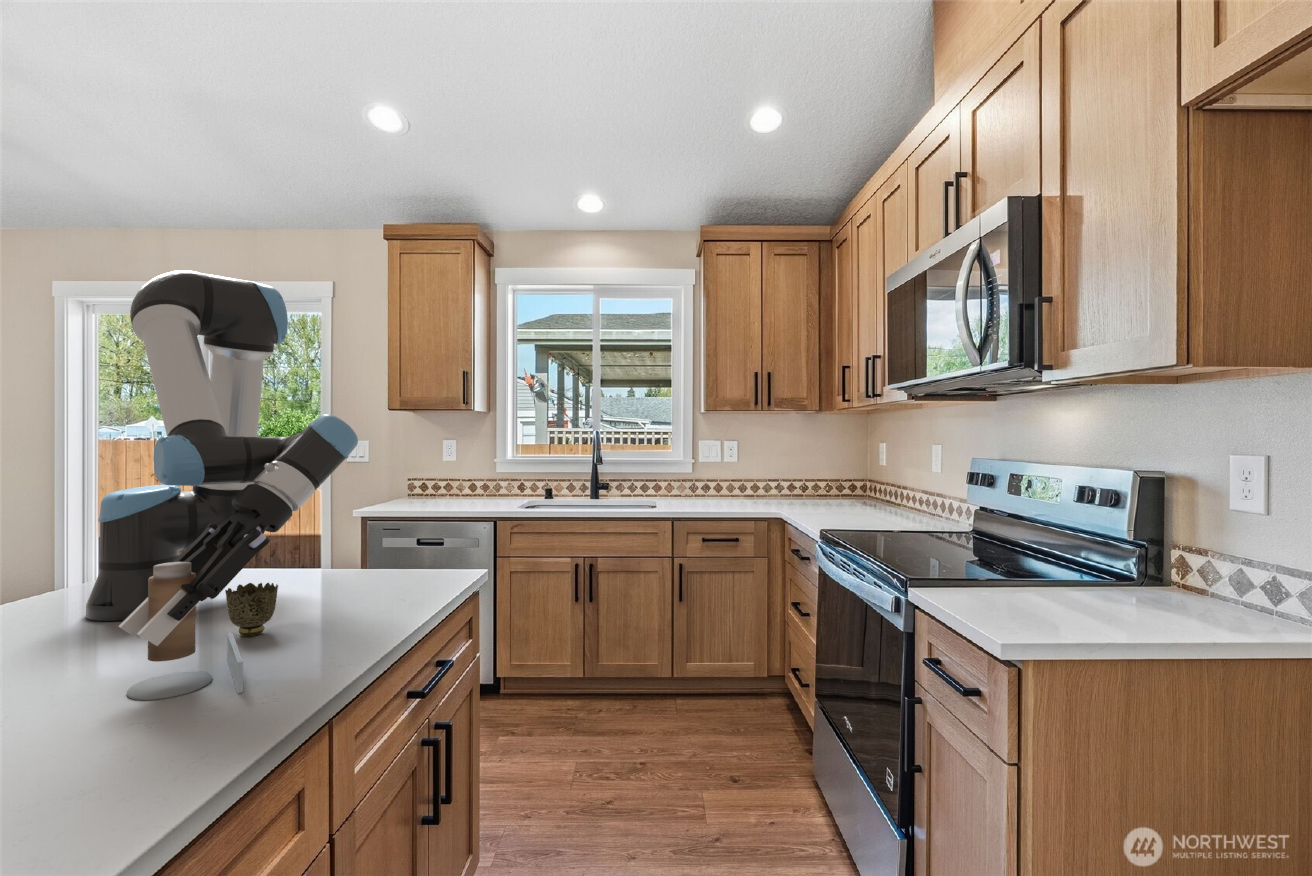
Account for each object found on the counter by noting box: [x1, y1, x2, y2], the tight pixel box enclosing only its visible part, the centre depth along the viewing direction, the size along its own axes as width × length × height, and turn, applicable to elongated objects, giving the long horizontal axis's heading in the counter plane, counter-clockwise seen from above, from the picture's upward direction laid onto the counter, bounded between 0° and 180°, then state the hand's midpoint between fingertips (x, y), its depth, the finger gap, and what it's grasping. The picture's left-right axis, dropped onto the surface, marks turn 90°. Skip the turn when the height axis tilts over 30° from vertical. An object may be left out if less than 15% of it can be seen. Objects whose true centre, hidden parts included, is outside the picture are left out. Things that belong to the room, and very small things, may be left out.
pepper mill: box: [147, 562, 197, 662], centre depth 83 cm, size 5×5×12 cm
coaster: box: [126, 670, 213, 701], centre depth 83 cm, size 9×9×1 cm
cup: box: [224, 582, 279, 638], centre depth 105 cm, size 8×7×8 cm
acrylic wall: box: [226, 632, 244, 694], centre depth 87 cm, size 15×1×4 cm, turn 39°
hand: (137, 635), depth 80 cm, fingers closed on pepper mill, 5 cm apart
